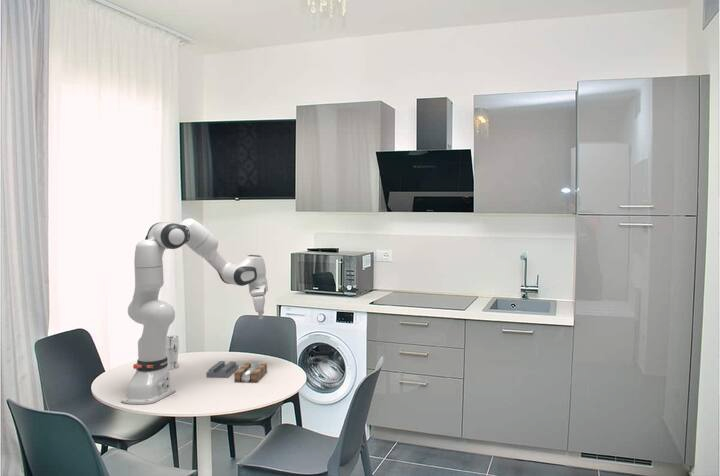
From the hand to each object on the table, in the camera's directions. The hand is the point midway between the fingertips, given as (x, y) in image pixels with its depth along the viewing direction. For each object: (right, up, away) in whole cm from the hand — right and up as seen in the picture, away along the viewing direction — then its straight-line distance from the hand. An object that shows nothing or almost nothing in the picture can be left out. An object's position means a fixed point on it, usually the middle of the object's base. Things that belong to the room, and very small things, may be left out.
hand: (261, 316), depth 270 cm
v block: (-16, -26, -11) cm, 32 cm away
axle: (-2, -25, -18) cm, 30 cm away
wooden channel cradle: (-2, -26, -17) cm, 31 cm away
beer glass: (-44, -25, +2) cm, 51 cm away
